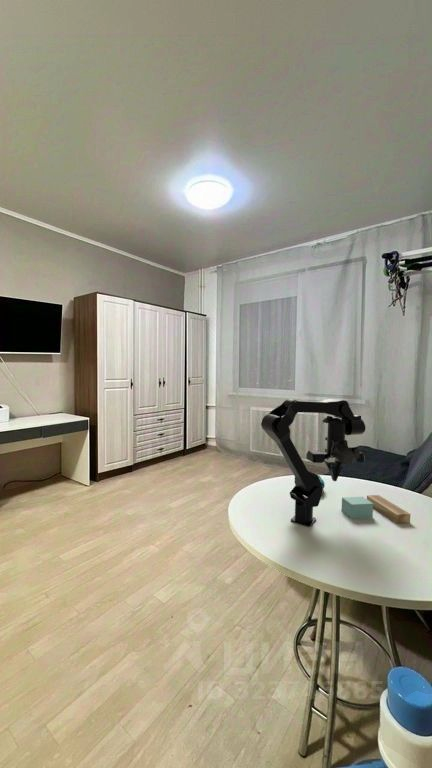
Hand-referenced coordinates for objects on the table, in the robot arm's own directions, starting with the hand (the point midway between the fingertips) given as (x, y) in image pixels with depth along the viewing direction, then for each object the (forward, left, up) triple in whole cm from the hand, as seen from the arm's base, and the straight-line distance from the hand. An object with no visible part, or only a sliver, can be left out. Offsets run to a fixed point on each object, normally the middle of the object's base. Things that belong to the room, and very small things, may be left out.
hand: (334, 480), depth 110 cm
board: (+14, -14, -12) cm, 24 cm away
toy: (+19, +13, -12) cm, 27 cm away
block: (+6, -6, -12) cm, 15 cm away
